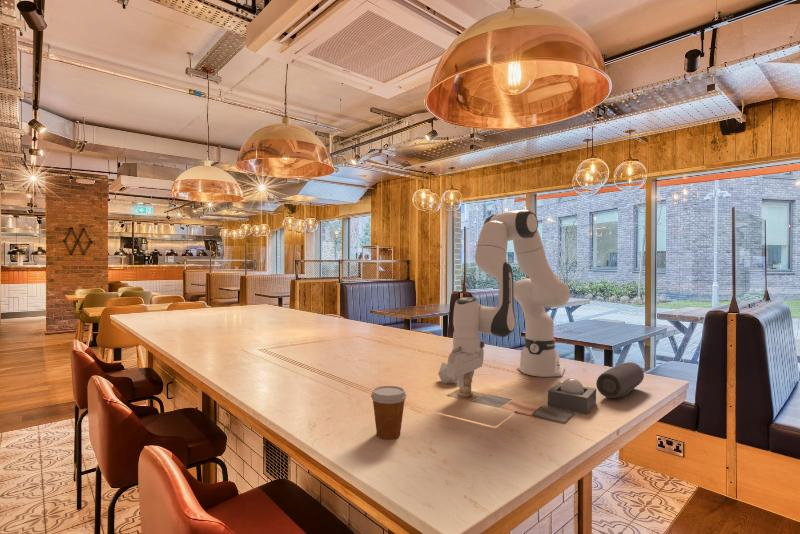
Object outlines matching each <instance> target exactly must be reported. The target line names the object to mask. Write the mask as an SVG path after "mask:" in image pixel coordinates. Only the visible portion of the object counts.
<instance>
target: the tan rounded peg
mask: <svg viewBox="0 0 800 534" xmlns="http://www.w3.org/2000/svg"><path fill="white" fill-rule="evenodd" d="M463 380H464V382H465V386H464V387H459V389H460V390H458V389H457V390H458V395H459V396H462V397H471V396H473V391H474V390H472V383H471V374H470V373H467V374H464V378H463Z"/></svg>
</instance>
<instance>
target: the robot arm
mask: <svg viewBox="0 0 800 534" xmlns="http://www.w3.org/2000/svg"><path fill="white" fill-rule="evenodd" d="M538 228H539V221H538V217H537V216H536V214H535V213H534V212H533V211H531V210H530V209H529V210H528V209H521V210H511V211H509V210H508V211H505V212H501V213H498V214H492V215H490V216H488V217H486V218H485V220H484V222H483V226H482V227H481V230H480V233H479V237H478V239H477V243H476V248H475V255H474V261H475V264H476V266H477V267H478V268H479V269H480V270H481V271H482V272H483V273H484V274H487V275H489V276H491V277H493V278H495V279H496V281H497V283H498V305H497V306H488V305H482V304H481V303H478V298H475V297H473V296H472V297H471V296H465V297H461V298H458V299H457V300H455V303H454V305H453V306H454V308H453V317H452V324H453V334H452V350H451V352H450V353H449V355H448V356H447V357H448V358H447V362H448V363H447V375H448V377H452V378H457V380H458V382H457V384H458V385H457V386H458V388H460V387H464V386H465V382H464V380H463V378H464V374H467V373H470V374H471V384H472V383H473V379H474V378H473V377H474V375H475V370H479V369H480V368H482V366H483V364H484V355H485V353H484V352H485V351H484V350H485V349H484V348H485V345H486V344H485V341H483V340H481V339H480V335H479V333H480V334H484V335H485V334H486V335H492V336H496V337H501V338H505V337H508V336H509V335H510V334H511V333H512V332H514V329H515V327H516V317H515V316H516V315H515V307H514V306H515V305H514V300H516V301H517V303H518V304H519V306H520V307H521V310H522V312H523V316H524V321H525V322H524V323H525V337H524V340H523V343H524V344H523V345H524V348H523V349H521V351H520V361H519V365H518V366H516V370H518V371H520V372H521V373H523V374H526V375H529V376H533V377H542V378H543V377H544V378H546V377H547V378H549V377H550V378H551V377H563V375H564V372H565V369H566V366H565V365H562V364H560V355H559V353H558V352H557V350H556V338H555V337H554V320H553V318H552V317H551V316H550V315H549V314H548V313H547V311H546V309H545V307H551V308H554V307H555V308H556V307H563V306H564V305H566V304H567V303H568V301H569V299H570V295H571V292H570V288H569V286H568V284H567V283H565V282H564V281H562V280H561V279H560V278H559V277H558V276H557V275H556V273H554V271H553V270H552V267H550V264H549V262H548V259H547V257H546V256H547V255H546V253H545V249H544V245H543V241H542V238H541V235H540V232H539V230H538ZM509 241H513V242H512V243H513V248H514V252H515V256H516V260H517V264H518V268H519V269H520V271H521V272H522V273H523V274H524V275H526V276H527V278H522V279H518V280H517V281H515V282H514V273H513V268H512V266H511V264H509V263H508V260H507V251H508V242H509Z"/></svg>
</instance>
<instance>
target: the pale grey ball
mask: <svg viewBox="0 0 800 534" xmlns="http://www.w3.org/2000/svg"><path fill="white" fill-rule="evenodd" d="M561 383H562V386H561V389H560V391H562V392H568V393H573V394H579V395H583V394H584V389H583V386H584V385H583V384H582V382H581V381H580V380H579V379H577V378H573V377H569V378H566V379H565V380H563V382H561Z"/></svg>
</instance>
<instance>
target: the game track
mask: <svg viewBox="0 0 800 534" xmlns="http://www.w3.org/2000/svg"><path fill="white" fill-rule="evenodd" d="M458 390H460V388H459V389H456V390H455V391H452V392H450V393H448V394H446V395H445V396H447V397H451V398H454V399H460V400H462V401H463V400H464V401H468V402H473V403H478V404H483V405H485V406H486V405H487V406H491V407H496V408H498V409H499V408H500V409H504V410H509V411H514V413H516V414H519V415H525V416H529V417H534V418H539V419H543V420H547V421H552V422H557V423H560V424H565V425H566V423H567V422H568V421H569V420H570V419H571V418H572V417H573V416H574V415H575V412H574V411H569V410H564V409H559V408H554V407H550V406H548V405H547V406H545V405H542V404H536V403H531V402H526V401H524V400H523V401H521V400H516V399H512V398H509V397H503V396H497V395H494V394H493V395H492V394H488V393H483V392H479V391H475V390H472V391H473V396H471V397H462V396H459V395H458Z"/></svg>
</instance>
